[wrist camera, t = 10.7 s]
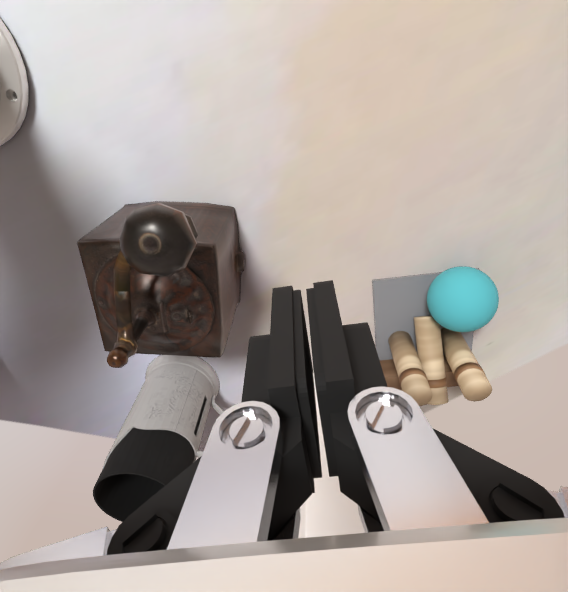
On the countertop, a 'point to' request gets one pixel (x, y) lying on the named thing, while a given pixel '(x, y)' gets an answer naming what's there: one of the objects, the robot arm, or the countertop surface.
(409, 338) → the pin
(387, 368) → the back wall
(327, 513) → the milk
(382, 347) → the pin deck mark
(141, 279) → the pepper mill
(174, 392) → the glass holder
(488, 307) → the ball
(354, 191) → the countertop surface
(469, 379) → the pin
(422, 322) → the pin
